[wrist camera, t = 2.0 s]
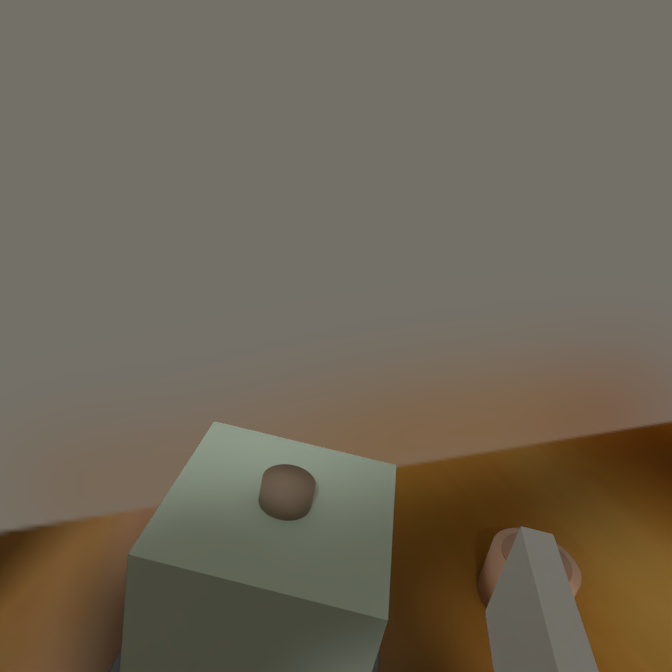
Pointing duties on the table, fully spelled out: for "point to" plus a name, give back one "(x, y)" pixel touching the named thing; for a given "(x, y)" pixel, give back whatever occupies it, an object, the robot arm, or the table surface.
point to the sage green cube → (263, 561)
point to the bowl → (498, 559)
